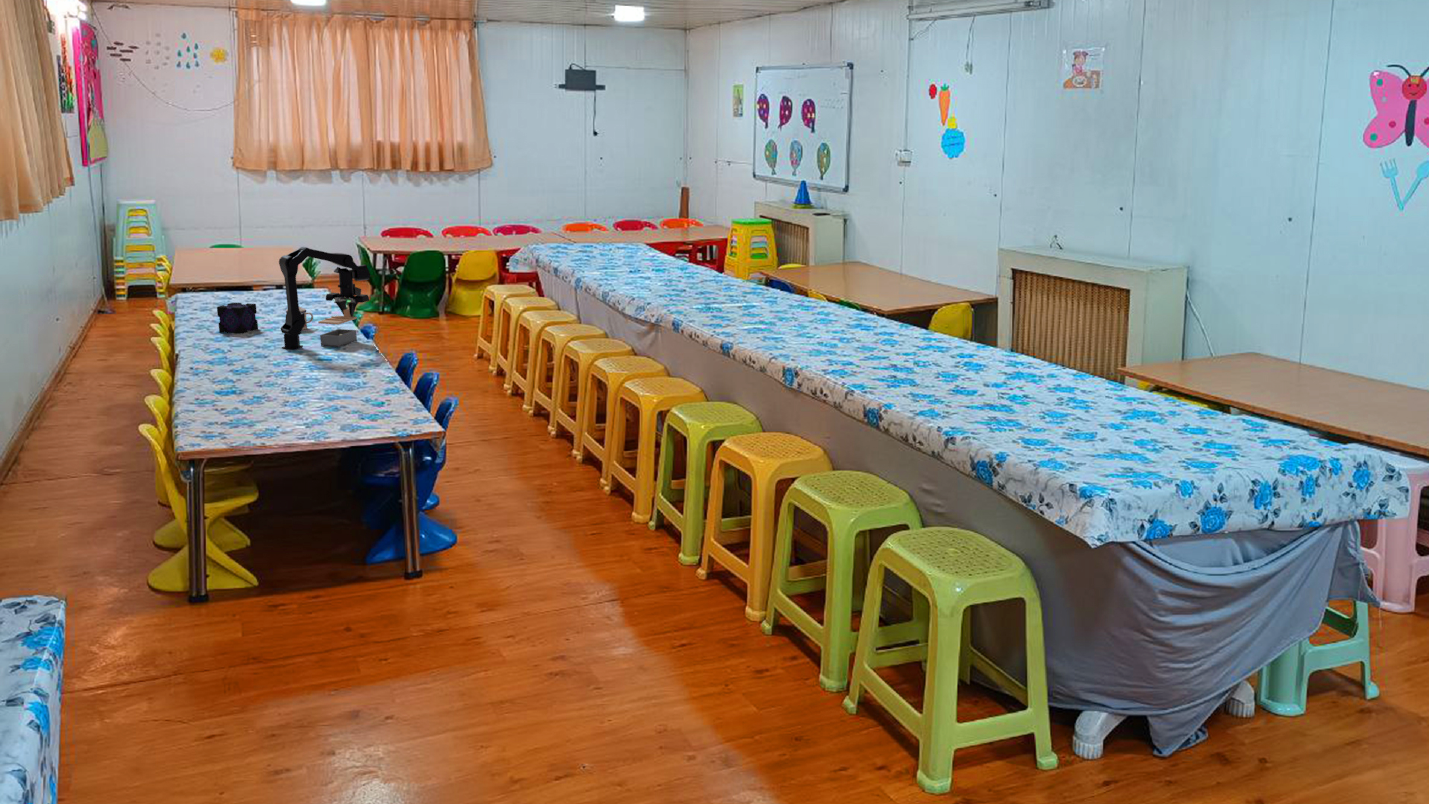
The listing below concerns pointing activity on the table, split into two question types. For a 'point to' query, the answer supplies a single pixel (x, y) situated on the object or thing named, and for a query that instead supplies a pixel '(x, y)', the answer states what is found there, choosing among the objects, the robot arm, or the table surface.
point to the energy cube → (237, 318)
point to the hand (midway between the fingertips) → (348, 316)
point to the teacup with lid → (305, 317)
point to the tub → (338, 338)
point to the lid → (338, 318)
